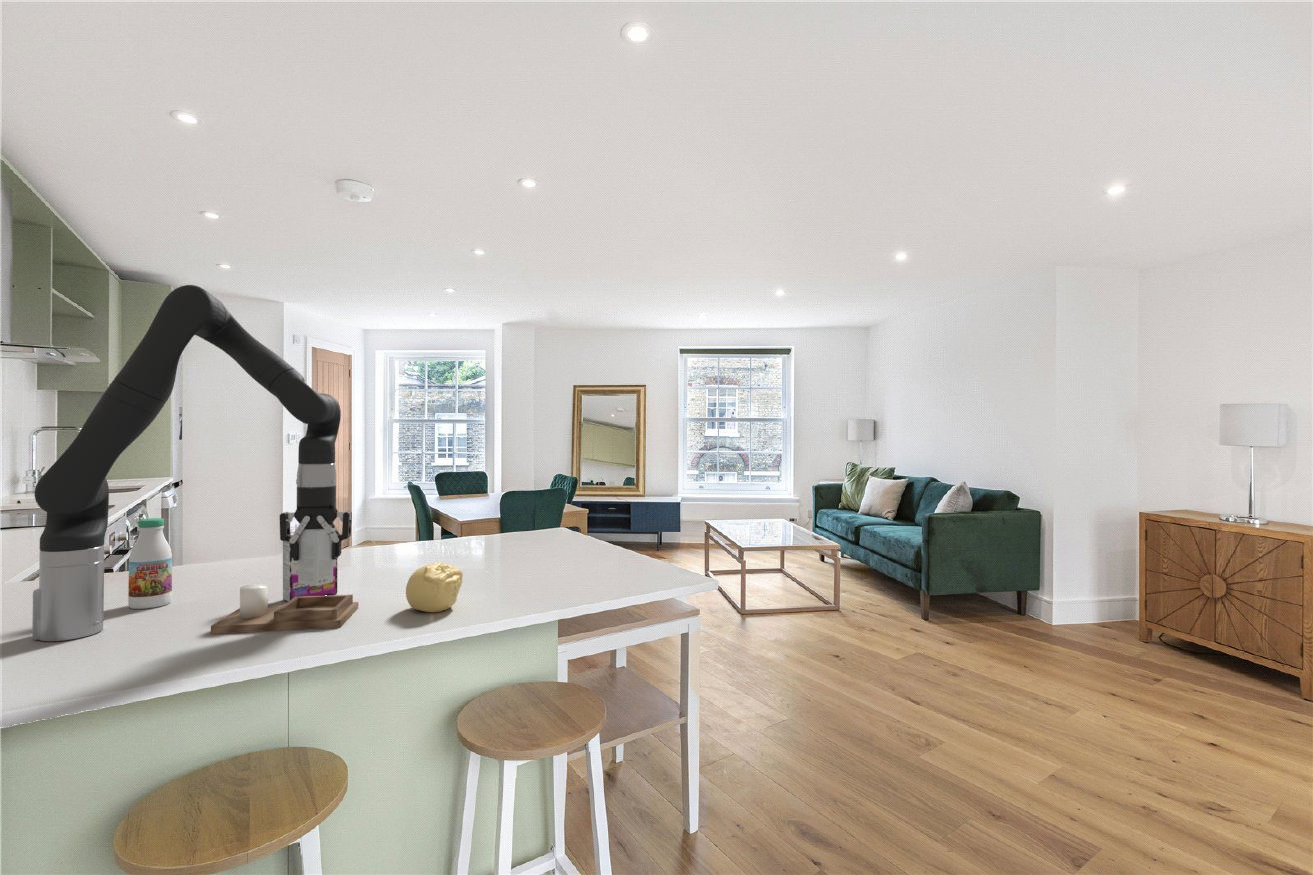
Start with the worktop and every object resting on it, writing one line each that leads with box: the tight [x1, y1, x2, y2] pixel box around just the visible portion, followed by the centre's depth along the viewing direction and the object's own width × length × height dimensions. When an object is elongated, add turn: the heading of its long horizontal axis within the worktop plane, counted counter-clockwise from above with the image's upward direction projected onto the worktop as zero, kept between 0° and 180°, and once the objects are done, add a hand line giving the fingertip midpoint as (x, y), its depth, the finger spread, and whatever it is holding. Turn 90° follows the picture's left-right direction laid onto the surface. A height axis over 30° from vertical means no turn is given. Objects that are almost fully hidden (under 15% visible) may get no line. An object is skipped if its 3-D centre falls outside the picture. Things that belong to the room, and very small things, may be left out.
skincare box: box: [298, 529, 333, 586], centre depth 131 cm, size 6×4×12 cm
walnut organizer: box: [210, 583, 359, 635], centre depth 130 cm, size 24×14×8 cm, turn 103°
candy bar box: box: [282, 531, 338, 603], centre depth 148 cm, size 11×5×16 cm, turn 143°
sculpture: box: [405, 561, 464, 613], centre depth 140 cm, size 12×12×11 cm
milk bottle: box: [127, 517, 173, 610], centre depth 139 cm, size 8×8×20 cm
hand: (316, 559), depth 131 cm, fingers closed on skincare box, 7 cm apart
